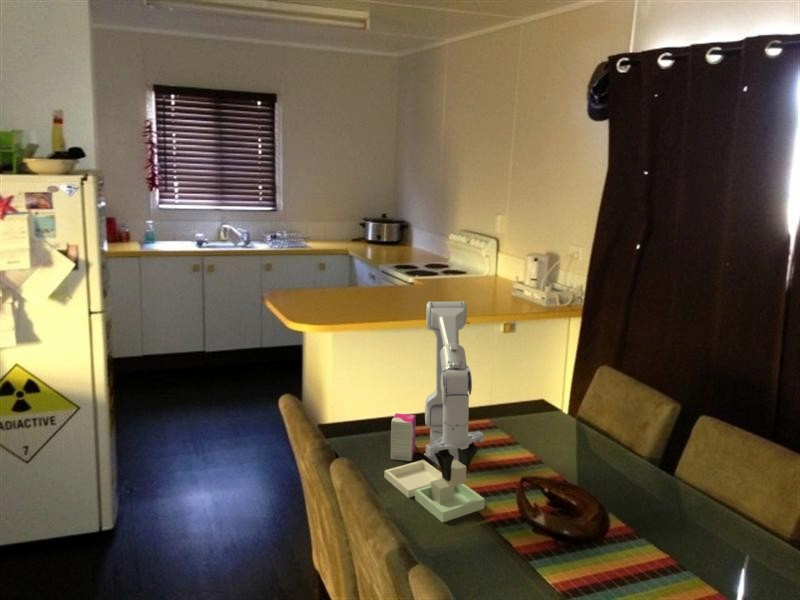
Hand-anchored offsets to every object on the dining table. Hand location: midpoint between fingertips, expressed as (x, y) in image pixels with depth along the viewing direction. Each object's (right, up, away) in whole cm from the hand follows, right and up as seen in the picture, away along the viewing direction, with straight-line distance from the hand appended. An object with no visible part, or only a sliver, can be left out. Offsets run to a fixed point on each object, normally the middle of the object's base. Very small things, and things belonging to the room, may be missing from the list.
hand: (454, 476), depth 156 cm
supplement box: (-12, -2, +28) cm, 31 cm away
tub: (-1, -8, +4) cm, 9 cm away
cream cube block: (-2, -7, +6) cm, 9 cm away
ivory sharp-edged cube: (0, -1, +1) cm, 1 cm away
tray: (-8, -5, +14) cm, 17 cm away
